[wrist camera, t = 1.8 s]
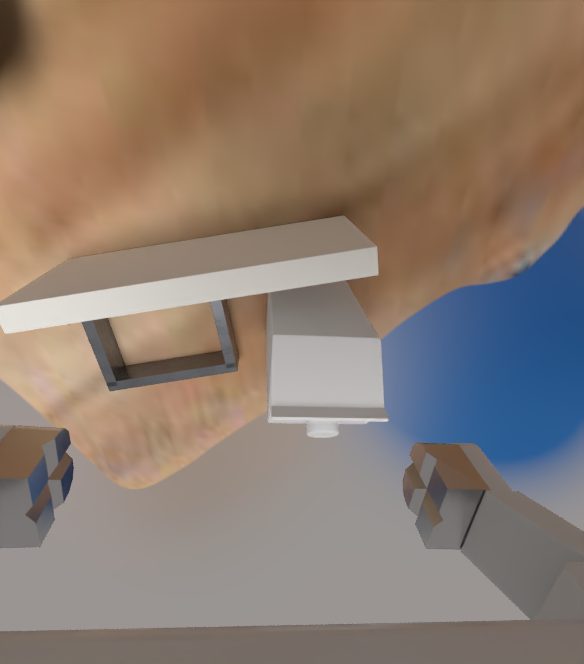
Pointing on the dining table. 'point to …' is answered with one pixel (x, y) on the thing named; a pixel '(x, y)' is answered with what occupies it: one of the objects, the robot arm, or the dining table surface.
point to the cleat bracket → (164, 369)
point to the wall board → (192, 273)
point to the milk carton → (322, 360)
